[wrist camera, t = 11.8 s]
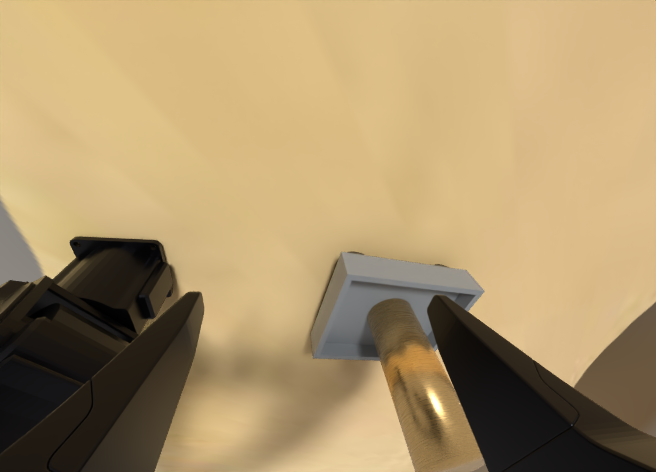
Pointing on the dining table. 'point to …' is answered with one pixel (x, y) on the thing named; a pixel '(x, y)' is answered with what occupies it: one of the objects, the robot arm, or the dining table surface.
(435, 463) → the gold cylinder
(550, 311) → the dining table surface
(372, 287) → the gray rectangular tray
